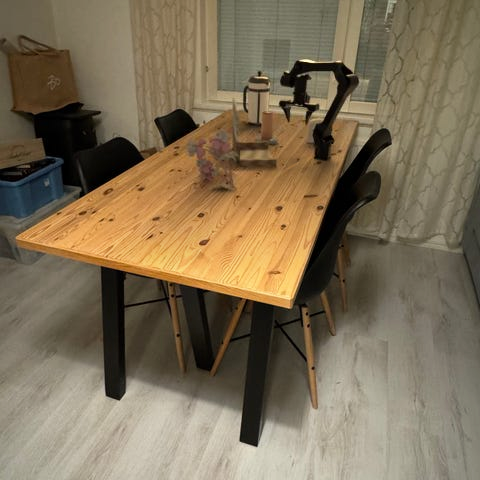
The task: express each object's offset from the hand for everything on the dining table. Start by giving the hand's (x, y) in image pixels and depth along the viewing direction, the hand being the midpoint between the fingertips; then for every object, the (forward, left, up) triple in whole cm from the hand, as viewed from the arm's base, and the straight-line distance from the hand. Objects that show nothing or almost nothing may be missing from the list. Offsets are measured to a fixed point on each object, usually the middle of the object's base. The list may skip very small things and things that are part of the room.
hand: (297, 123), depth 193 cm
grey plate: (+18, -3, -13) cm, 22 cm away
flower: (+9, +59, -13) cm, 61 cm away
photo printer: (-4, -18, -13) cm, 23 cm away
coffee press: (+42, -34, -13) cm, 56 cm away
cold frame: (+11, +23, -13) cm, 29 cm away
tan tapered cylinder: (+18, -3, -11) cm, 21 cm away
